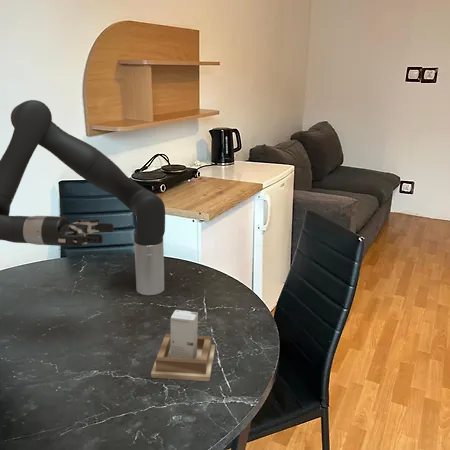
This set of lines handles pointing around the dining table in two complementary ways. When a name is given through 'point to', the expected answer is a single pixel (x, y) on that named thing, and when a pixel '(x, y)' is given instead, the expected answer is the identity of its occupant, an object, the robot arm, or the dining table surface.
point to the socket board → (185, 362)
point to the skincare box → (183, 334)
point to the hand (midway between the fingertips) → (108, 233)
